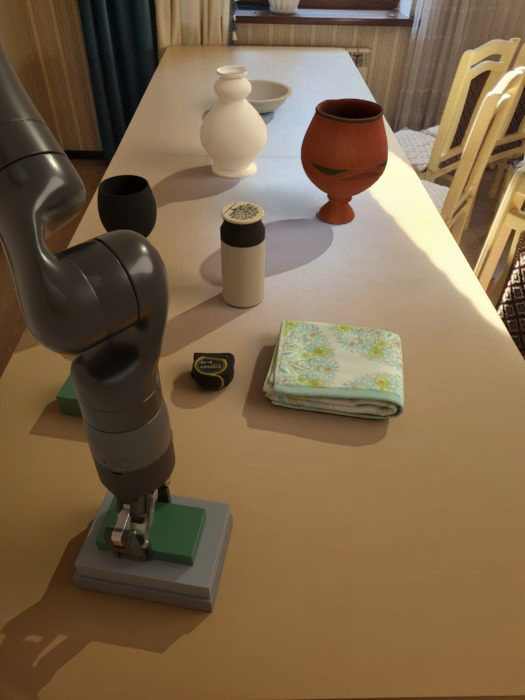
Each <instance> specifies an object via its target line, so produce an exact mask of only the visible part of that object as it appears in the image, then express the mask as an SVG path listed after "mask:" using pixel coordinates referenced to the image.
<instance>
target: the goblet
mask: <svg viewBox="0 0 525 700" xmlns="http://www.w3.org/2000/svg"><path fill="white" fill-rule="evenodd" d="M314 111H315V112H314V114H313V116H312V118H311V121H310V123H309V124H308V127H307V129H306V130H305V133H304V136H303V139H302V142H301V146H300V162H301V166H302V169H303V171H304V173H305V175H306V177H307V178H308V180H309V181H310V182H311V183H312V184H313V185H314V187H316V188H317V189H318V190H319V191H321V192H323V193H324V194H326V197H327V199H328V200H327V202H326V203H324V204H323V205H322V206H321V207H320V208H319V210H318V212H317V216H318V218H319V219H321V221H324V222H326V223H328V224H333V225H343V224H349V223H351V222H352V221H354V219H355V217H356V214H355V211H354V209H353V207H352V206H351V204H350V202H351V201H352V200H353V197H354V196H357V195H360V194H362V193H363V192H365V191H367V190H368V189H369V188H371V187H372V186H373V185H375V183H377V182H378V180H379V179H380V178H381V177H382V175H383V174H384V173H385V170H386V167H387V165H388V160H389V143H388V135H387V131H386V127H385V121H384V114H385V109H384V106H382V105H381V104H379V103H377V102H374V101H371V100H368V99H362V98H361V99H360V98H351V97H349V98H348V97H345V98H338V99H337V98H335V99H332V98H331V99H324V100H323V101H321V102H319V103H318V104H317V105H316V106H315V109H314Z"/></svg>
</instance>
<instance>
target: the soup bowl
mask: <svg viewBox="0 0 525 700" xmlns="http://www.w3.org/2000/svg"><path fill="white" fill-rule="evenodd" d="M247 80H248V81H249V82H250V84H251V92H250V93H249V95H248V96H247V97H246V98H245V99H246V100H247V101H248V102H249V103H250V104H251V105H252V106H253V107H254V108H255V109H256V111H257V112H258V113H259V114H266V113H271V112H273V111H275V110H277V109H278V108H280V107H281V106H282V105H283V104H284V103H285V101H286V100H287V99H288V98H289V97H291V96H292V94H293V88H291V87H290V86H289V85H288V84H285V83H282V82H279V81H274V80H268V79H247Z"/></svg>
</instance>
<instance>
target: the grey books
mask: <svg viewBox="0 0 525 700" xmlns="http://www.w3.org/2000/svg"><path fill="white" fill-rule="evenodd" d="M113 497H114V495H113V494H112V493H111V492H110V491H109V490H108V489H107V491H106V493H105V495H104V497H103V499H102V501H101V504H100V506H99V507H98V508H99V509H98V511H97V513H96V514H95V517H94V519H93V521H92V523H91V527H90V528H89V530H88V532H87V535H86V537H85V539H84V541H83V543H82V546H81V548H80V551H79V553H78V555H77V558H76V559H75V562H74V564H73V565H74V567H75V571H74V574H73V575H72V580H73V581H74V584H75V586H76V588H78V589H84V590H88V591H94V592H99V593H106V594H111V595H116V596H121V597H127V598H131V599H138V600H142V601H149V602H155V603H159V604H163V605H164V604H165V605H170V606H176V607H180V608H186V609H192V610H197V611H203V612H208V613H213V611H214V607H215V603H216V598H217V594H218V590H219V585H220V581H221V578H222V577H221V576H222V573H223V569H224V564H225V560H226V557H227V551H228V547H229V543H230V539H231V534H232V530H233V526H234V519H233V517H234V516H233V513H231V504H230V503H226V502H219V501H214V500H213V501H212V500H206V499H200V498H193V497H187V496H182V495H175V494H170V497H171V503H173V504H179V505H185V506H191V507H198V508H204V509H206V522H205V525H204V529H203V532H202V536H201V540H200V543H199V547H198V550H197V554H196V558H195V561H194V565H193V566H191V565H185V564H180V563H174V562H168V561H163V560H157V559H152V560H151V561H147V562H146V563H144V562H135V561H133V560H127V559H118V558H115V556H114V555H113V553H112V552H111V551H105V550H99V549H98V548H97V545H96V542H95V539H96V536H97V534H98V532H99V530H100V527H101V525H102V523H103V520H104V518H105V516H106V513H107V511H108V509H109V507H110V504H111V502H112V500H113Z"/></svg>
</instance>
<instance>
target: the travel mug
mask: <svg viewBox="0 0 525 700" xmlns="http://www.w3.org/2000/svg"><path fill="white" fill-rule="evenodd" d="M220 216H221V218H222V220H223V221H222V223H221V224H220V227H219V234H220V235H219V238H220V241H219V242H220V257H221V260H220V263H221V264H220V265H221V282H222V283H221V285H222V286H221V287H222V298H223V300H224V301H225V303H227V304H228V305H230V306H233V307H236V308H249V307H254V306H256V305H259V304H260V303H261V302H263V300H264V297H265V269H266V268H265V265H266V263H265V262H266V255H265V254H266V226H265V224H264V223H263V218H264V216H265V211H264V208H262V206H260V205H259V204H256V203H255V202H254V203H253V202H249V201H236V202H232V203H228V204H226V205H225V206H223V207H222V208H221V209H220Z"/></svg>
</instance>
